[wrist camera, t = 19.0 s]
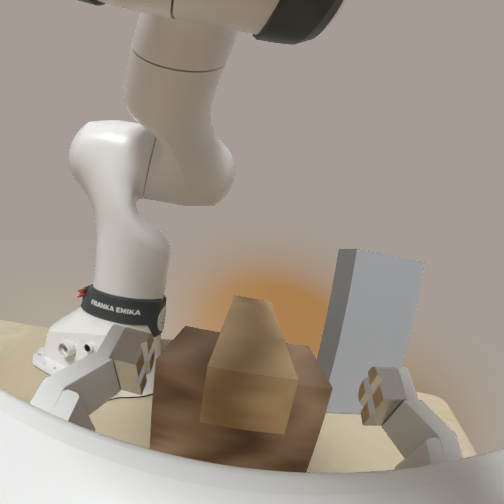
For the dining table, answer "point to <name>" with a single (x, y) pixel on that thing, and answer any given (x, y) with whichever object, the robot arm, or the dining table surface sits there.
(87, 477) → the robot arm
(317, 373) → the walnut block
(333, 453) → the dining table surface
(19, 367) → the dining table surface
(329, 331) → the tall stand
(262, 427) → the oak bar
